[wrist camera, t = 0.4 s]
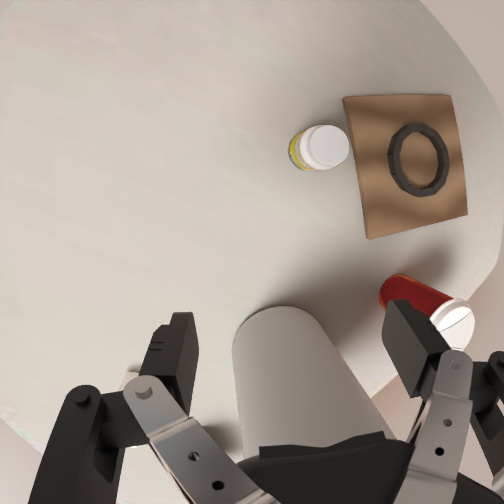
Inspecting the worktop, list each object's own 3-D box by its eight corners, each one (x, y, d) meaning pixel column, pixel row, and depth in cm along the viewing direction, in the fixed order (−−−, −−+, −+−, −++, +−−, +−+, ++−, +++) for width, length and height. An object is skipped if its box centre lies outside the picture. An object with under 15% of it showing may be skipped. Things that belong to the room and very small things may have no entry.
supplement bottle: (329, 138, 36) (357, 129, 28) (321, 175, 37) (349, 175, 29) (291, 128, 35) (311, 115, 27) (283, 165, 36) (302, 163, 28)
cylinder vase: (249, 292, 40) (294, 444, 15) (336, 316, 42) (439, 443, 18) (220, 372, 42) (230, 532, 18) (301, 388, 44) (358, 527, 20)
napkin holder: (142, 438, 44) (136, 462, 39) (85, 400, 42) (74, 422, 36) (197, 392, 43) (196, 417, 37) (134, 346, 40) (124, 369, 35)
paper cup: (370, 322, 43) (422, 373, 29) (373, 270, 41) (433, 310, 27) (415, 312, 43) (471, 355, 30) (419, 263, 41) (483, 296, 28)
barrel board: (342, 98, 35) (349, 94, 33) (446, 96, 36) (456, 94, 34) (366, 237, 40) (374, 241, 37) (463, 213, 41) (474, 216, 38)
